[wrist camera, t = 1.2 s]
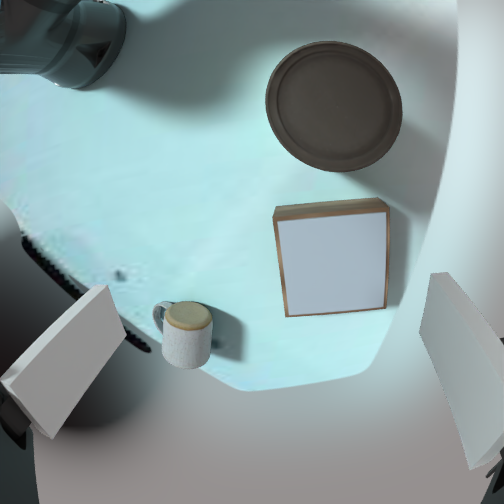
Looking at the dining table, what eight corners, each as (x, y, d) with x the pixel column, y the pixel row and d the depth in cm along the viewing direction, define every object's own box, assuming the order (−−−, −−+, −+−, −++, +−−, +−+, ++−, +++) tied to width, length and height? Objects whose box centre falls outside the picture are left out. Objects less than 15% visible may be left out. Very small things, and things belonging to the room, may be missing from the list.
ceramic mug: (219, 304, 43) (204, 335, 36) (215, 344, 47) (201, 376, 40) (155, 288, 44) (132, 314, 37) (157, 328, 48) (137, 355, 41)
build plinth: (276, 206, 36) (272, 218, 32) (378, 197, 34) (390, 207, 29) (287, 296, 41) (285, 318, 36) (378, 289, 38) (386, 309, 34)
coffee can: (379, 109, 30) (425, 97, 17) (333, 174, 34) (353, 199, 21) (308, 60, 29) (312, 17, 16) (261, 126, 33) (238, 121, 20)
